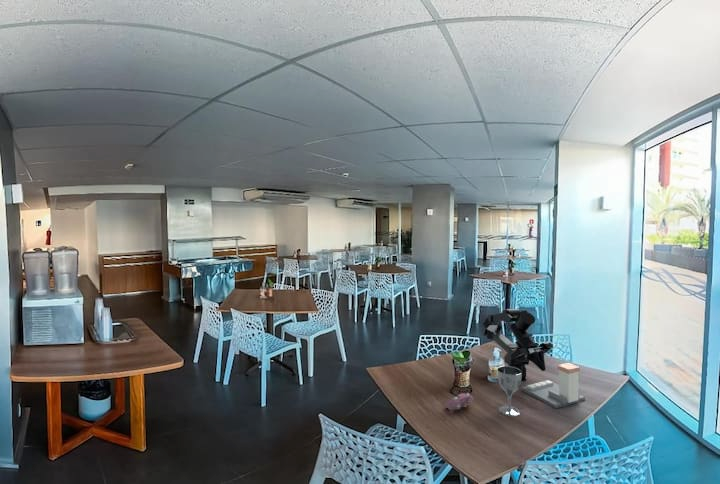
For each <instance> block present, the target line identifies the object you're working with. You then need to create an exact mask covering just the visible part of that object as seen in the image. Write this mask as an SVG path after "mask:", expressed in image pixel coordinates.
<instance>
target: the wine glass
mask: <svg viewBox="0 0 720 484" xmlns="http://www.w3.org/2000/svg"><path fill="white" fill-rule="evenodd" d="M496 372H497V380H498V383H499V386H500V388H501V389H503V391H504V392H505V394H506V396H507V401H508V405H503V406H500V407H499V408H498V411H499V412H500V413H501V412H502V413H503V414H502V413H501V414H502V415H504V414H505V415H504V416H507V415H508V416H507V417H519V416H520V415H521V411H520V410H519V409H518V408H516V407H514V406H511V405H512V397H513V394H514V393H515V392H517V391H518V390H519V389H520V386H521V383H522V380H521V370H520V369H518V368H515V367H511V366H508V365H502V366H498V367H497V371H496ZM518 415H519V416H518Z"/></svg>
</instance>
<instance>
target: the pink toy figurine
mask: <svg viewBox="0 0 720 484" xmlns="http://www.w3.org/2000/svg"><path fill="white" fill-rule="evenodd" d="M474 399H475V398H474V397H473V396H472V395H471V394H470V393H469V392H466V393H459V394H458V395H457V396H454V397H453V398H452V399H451V400H449V401H447V402H446V403H445V405H444V406H445V408H446V409H447V408H448V409H451V410H453V409H455V411H458V410H457V409H459V410H460V409H461V408H463V407H465V408H467V407H468V405H470V404H472V402H473V401H474ZM448 409H447V410H448Z"/></svg>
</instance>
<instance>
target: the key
mask: <svg viewBox="0 0 720 484" xmlns="http://www.w3.org/2000/svg"><path fill="white" fill-rule="evenodd" d="M557 370H558V385H559V395H561V396H563V397H566V402H568V403H570V402H573V401H577V400H578V394H579V372H580V366H578V365H575V364H573V363H571V362H565V363H561V364H558V365H557Z"/></svg>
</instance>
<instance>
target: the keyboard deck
mask: <svg viewBox="0 0 720 484" xmlns="http://www.w3.org/2000/svg"><path fill="white" fill-rule="evenodd" d="M520 389H521V391H522V392H524V393H526V394H528V395H530V396H531V397H534V398H535V399H538V400H540V402H541V401H542V402H544V403H545V404H546V405H549V406H551V407H553V408H555V409H558V408H562V407H563V408H564V407H566V406H570V405H572V404H575V403H576V404H577V403H580V402H584V401H585V400H586V396H585V395H584V396H583V395H582V394H580V393H578V400H577V401H573V402H570V403H568V402H566V397H563V396H561V395H559V383H556V382H553V381H551V380H548V379H547V380H543V381H539V382H535V383H532V384H527V385H525V386H521V388H520Z"/></svg>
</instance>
